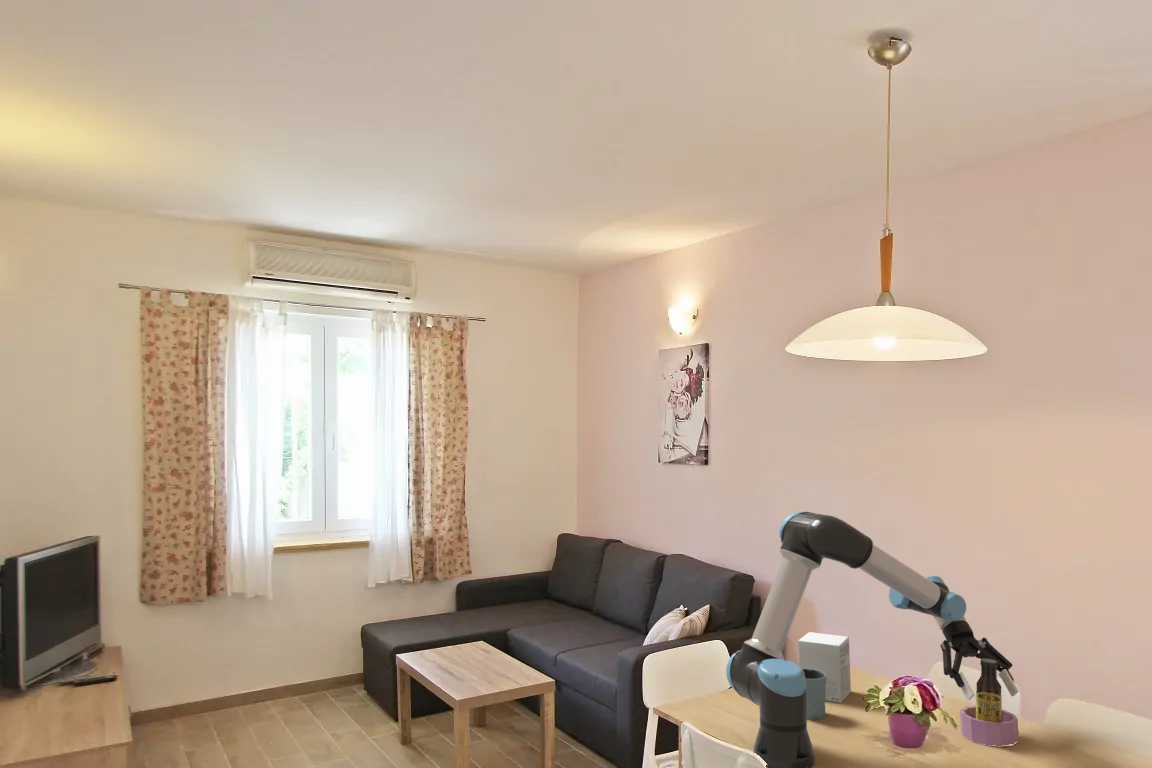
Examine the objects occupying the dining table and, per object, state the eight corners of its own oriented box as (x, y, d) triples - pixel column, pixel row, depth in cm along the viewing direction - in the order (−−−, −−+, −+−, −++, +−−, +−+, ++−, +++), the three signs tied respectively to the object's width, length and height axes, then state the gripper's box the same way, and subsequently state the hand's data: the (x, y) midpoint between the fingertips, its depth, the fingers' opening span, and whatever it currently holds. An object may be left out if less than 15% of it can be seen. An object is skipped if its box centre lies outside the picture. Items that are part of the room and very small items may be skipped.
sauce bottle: (975, 736, 215) (973, 661, 216) (976, 728, 221) (973, 655, 222) (1003, 740, 212) (1000, 664, 213) (1003, 732, 217) (1000, 658, 219)
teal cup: (823, 709, 239) (822, 668, 240) (831, 721, 229) (829, 678, 230) (789, 708, 240) (788, 668, 241) (795, 720, 230) (794, 678, 231)
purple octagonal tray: (1022, 749, 208) (1021, 725, 208) (965, 743, 212) (964, 720, 212) (1012, 730, 220) (1011, 708, 221) (958, 725, 225) (957, 704, 225)
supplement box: (851, 691, 255) (850, 636, 257) (841, 703, 244) (839, 645, 245) (810, 685, 262) (808, 631, 264) (798, 696, 251) (797, 640, 252)
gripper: (985, 630, 235) (1026, 699, 220) (910, 635, 230) (946, 706, 215) (998, 616, 230) (1040, 685, 215) (921, 621, 225) (958, 692, 210)
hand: (993, 695), depth 215 cm, fingers open, 13 cm apart
